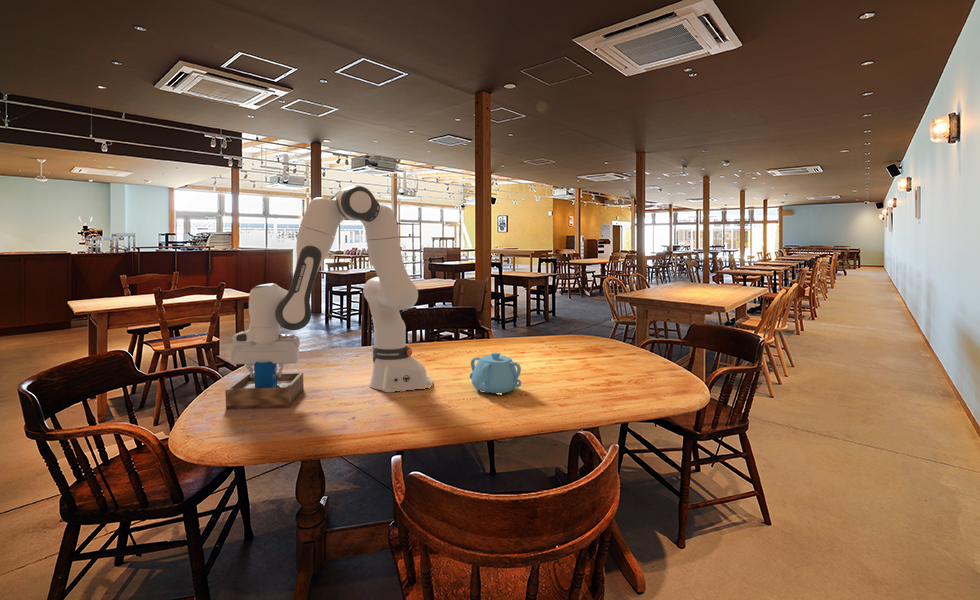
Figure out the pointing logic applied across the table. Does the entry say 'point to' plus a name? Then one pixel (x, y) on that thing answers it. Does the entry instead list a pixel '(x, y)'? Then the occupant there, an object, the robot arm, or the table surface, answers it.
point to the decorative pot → (495, 373)
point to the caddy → (264, 392)
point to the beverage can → (265, 374)
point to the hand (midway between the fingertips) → (266, 376)
